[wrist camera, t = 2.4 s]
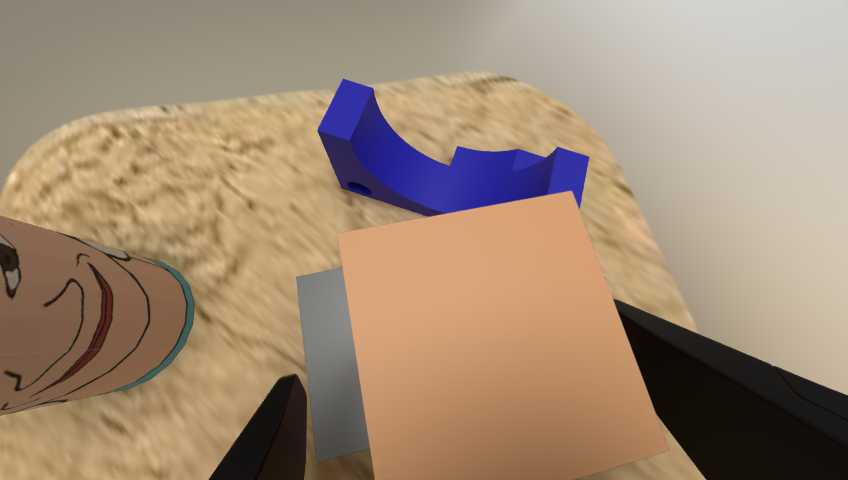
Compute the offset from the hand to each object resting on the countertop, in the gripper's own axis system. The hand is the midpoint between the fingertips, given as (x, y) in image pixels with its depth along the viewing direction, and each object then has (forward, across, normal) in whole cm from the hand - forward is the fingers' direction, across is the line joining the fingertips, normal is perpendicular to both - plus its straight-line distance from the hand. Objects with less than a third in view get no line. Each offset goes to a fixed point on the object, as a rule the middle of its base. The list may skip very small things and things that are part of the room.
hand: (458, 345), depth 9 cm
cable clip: (+13, -3, 0) cm, 13 cm away
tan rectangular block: (+6, 0, +6) cm, 8 cm away
